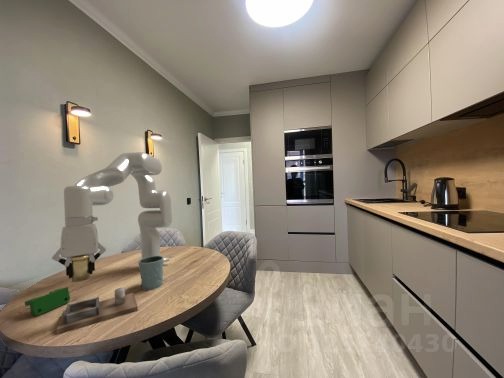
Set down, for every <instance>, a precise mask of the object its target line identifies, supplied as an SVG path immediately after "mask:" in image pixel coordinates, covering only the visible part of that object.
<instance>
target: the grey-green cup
mask: <svg viewBox="0 0 504 378" xmlns="http://www.w3.org/2000/svg"><path fill="white" fill-rule="evenodd" d="M163 258H164V256H162V255H160V256H150V257H145V258H143V259H142V258H141V259H139V260H138V270H139V269H140V270H139V272H140V273H139V274H140V275H139V276H140V280H141V281H140V283H141V288H142V289H143V290H146V291H150V290H155V289H158V288H161V286H162V285H163V284H164V282H163V281H164V279H163V277H164V276H163V275H164V269H163V268H164V266H163Z"/></svg>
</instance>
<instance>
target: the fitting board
mask: <svg viewBox="0 0 504 378" xmlns="http://www.w3.org/2000/svg"><path fill="white" fill-rule="evenodd" d="M125 289H126V288H125V287H118V288H116V289H115V290H114V297H112V298H109V299H105V300H100V297H99V296H97V297H93V298H89V299H86V300H81V301H77V302H72V303H69V304H68V303H67V305H66V308H65V310H62V313H61V316H60V319H59V321H58V325H57V327H56V335H60V334H64V333H66V332H70V331H73V330H77V329H79V328H83V327H84V328H85V327H87V326H90V325H93V324H98V323H100V322H104V321H107V320H112V319H115V318H117V317H120V316H124V315H128V314H131V313H133V312H137V311H138V310H139V309H138V304H137V300H136V297H135V293H134V292H132V293H128V294H125V293H126V292H125V291H126V290H125Z"/></svg>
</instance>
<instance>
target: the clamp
mask: <svg viewBox="0 0 504 378" xmlns="http://www.w3.org/2000/svg"><path fill="white" fill-rule="evenodd" d="M70 300H71V296H70V291H69V286H65V287H62V288H61V287H60V288H58V289H57V288H56V289H55V290H52V291H50V292H48V293H47V294H44V295H41V296H38V297H34V298H31V299H28V300H25V301H24V306H25V307H27V306H28V307H29V310H30V314H31V315H32V316H34V317H35V316H40V315H43V314H45V313H47V312H50V311H52V310H55V309H56V308H58V307H60V306H63V305H65V304H68V303H69V302H70Z"/></svg>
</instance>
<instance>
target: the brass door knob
mask: <svg viewBox="0 0 504 378" xmlns="http://www.w3.org/2000/svg"><path fill="white" fill-rule="evenodd" d="M70 261H71V262H70V263H71V266H72V278H71V282H73V283H78V282H79V283H80V282H83V281H87V280H89V279H90V278H91V274H90V268H89V263H90V255H82V256H76V257H72V258H70Z"/></svg>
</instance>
